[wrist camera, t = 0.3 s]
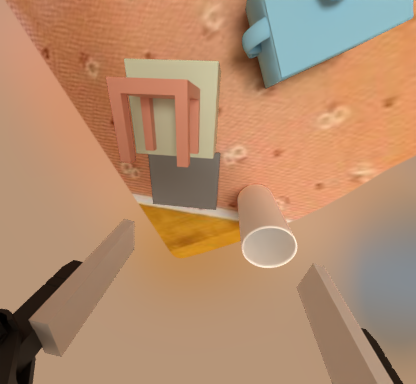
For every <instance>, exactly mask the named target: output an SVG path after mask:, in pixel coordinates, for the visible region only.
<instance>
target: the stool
mask: <svg viewBox="0 0 416 384" xmlns="http://www.w3.org/2000/svg"><path fill="white" fill-rule="evenodd" d="M106 81H107V87H108V93H109V98H110V104H111V110H112V115H113V121H114V127H115V132H116V138H117V144H118V149H119V155H120V160H121V162H125V163H132V162H134V161H136V156H135V148H134V141H133V134H132V127H131V119H130V112H129V105H128V97H127V95H129V96H135V97H140V102H141V111H142V120H143V129H144V138H145V147H146V150H150V151H154V150H156V149H157V145H156V133H155V121H154V109H153V98H160V99H175V119H176V148H177V167H188V166H189V165H190V153H192V154H198V153H199V129H200V88H198V87H197V86H195V85H194V84H193V83H191V82H190V81H189V80H186V79H158V78H130V77H106Z"/></svg>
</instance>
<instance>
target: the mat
mask: <svg viewBox="0 0 416 384" xmlns="http://www.w3.org/2000/svg"><path fill="white" fill-rule="evenodd" d="M148 156H149V166H150V176H151V185H152V195H153V204H162V205H172V206H183V207H193V208H203V209H213V210H216V204H217V190H218V177H219V164H220V153H215V154H214V157H213V159H209V158H195V157H190V165H189V166H188V167H177V156H168V155H154V154H148Z"/></svg>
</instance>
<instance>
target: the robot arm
mask: <svg viewBox="0 0 416 384" xmlns="http://www.w3.org/2000/svg"><path fill="white" fill-rule="evenodd" d="M133 250H134V221H130V220H126V219H124V220H123V221H122V222H121V223H120V224H119V225H118V226H117V227H116V228H115V229H114V230H113V231H112V232H111V233H110V234H109V235H108V236H107V238H106V239H105V240H104V241H103V242H102V243H101V244H100V245H99V246H98V247H97V248H96V249H95V250H94V251H93V253H91V254H90V255H89V257H88V258H87V259H86V260H85V261H84V262H80V261H75V260H73V261H72V262H70V263H68V264H66V265H65V266H63V267H62V268H61V269H60V270H59V271H58V272H57V273H56V274H55V275H54V276H53V277H52V278H50V279H49V280H48V281H47V282H46V284H45V285H43V286H42V287H41V288H40V289H39V290H38V291H37V292H36V293H35V294H34V295H32V296H31V297H30V298H29V299H28V300H27V301H26V302H25V303H24V304H23V305H22V306H21V307H20V308H19V309H18V310H17V311H16V312H15V313H14V314H12V313H11V312H10V311H9V310H5V309H0V384H32V383H33V375H34V368H35V360H36V359H35V355H36V354H37V353H38V352H39V350H40V349H41V348H43V350H44V352H45V353H48V354H52V355H56V356H60V357H62V355H63V354H64V352H65V351H66V349H67V348H68V346H69V345H70V343H71V342H72V340H73V339H74V337H75V336H76V334H77V333H78V332H79V330H80V329H81V327H82V326H83V324H84V323H85V321H86V320H87V318H88V317H89V315H90V314H91V312H92V311H93V309H94V308H95V306H96V305H97V303H98V302H99V300H100V299H101V298H102V296H103V295H104V293H105V292H106V290H107V289H108V287H109V286H110V284H111V283H112V281H113V280H114V278H115V277H116V275H117V274H118V272H119V271H120V269H121V268H122V266H123V265H124V263H125V262H126V260H127V259H128V258H129V256H130V255H131V253H132V252H133ZM297 290H298V292H299V295H300V298H301V301H302V303H303V306H304V309H305V311H306V314H307V317H308V319H309V322H310V325H311V328H312V330H313V333H314V336H315V338H316V341H317V344H318V346H319V349H320V352H321V354H322V357H323V360H324V362H325V365H326V368H327V370H328V373H329V376H330V379H331V381H332V384H403V383H402V381H401V380H400V378H399V376H398V375H397V373H396V372H395V370H394V369H393V368H392V365H391V364H390V362H389V361H388V359H387V357H385V354H384V353H383V351H382V349H381V348H380V346H379V345H378V343H377V341H376V340H375V339H374V338H373V337H372V336H371V335H370V334H369V332H367V330H366V329H362V328H360V326H359V325H358V323H357V321H356V320H355V318H354V316H353V314H352V313H351V311H350V309H349V308H348V306H347V304H346V303H345V301H344V299H343V298H342V296H341V294H340V292H339V291H338V289H337V287H336V286H335V284H334V282H333V281H332V279H331V278H330V276H329V274H328V272H327V271H326V269H325V267H324V266H321V265H317V264H313V265H312V266H311V267H310V269H309V270H308V272H307V273H306V275H305V276H304V278H303V279H302V281H301V282H300V283H299V285H298V286H297Z"/></svg>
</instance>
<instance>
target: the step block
mask: <svg viewBox="0 0 416 384" xmlns="http://www.w3.org/2000/svg"><path fill="white" fill-rule="evenodd" d="M124 63H125V71H126V77H130V78H158V79H186V80H189V81H190V82H191V83H193V84H194V85H195V86H197V87H198V88H200V129H199V153H198V154H192V153H190V157H195V158H209V159H213V157H214V154H215V151H216V139H217V124H218V108H219V92H220V77H221V70H220V65H219V61H198V60H160V59H124ZM129 100H130V108H131V115H132V123H133V130H134V138H135V145H136V153H140V154H154V155H168V156H177V148H176V119H175V99H160V98H153V109H154V121H155V133H156V145H157V149H156V150H154V151H150V150H146V147H145V138H144V129H143V120H142V111H141V102H140V97H135V96H129Z"/></svg>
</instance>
